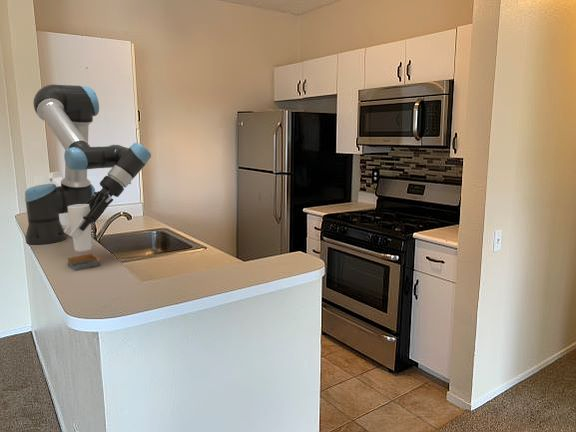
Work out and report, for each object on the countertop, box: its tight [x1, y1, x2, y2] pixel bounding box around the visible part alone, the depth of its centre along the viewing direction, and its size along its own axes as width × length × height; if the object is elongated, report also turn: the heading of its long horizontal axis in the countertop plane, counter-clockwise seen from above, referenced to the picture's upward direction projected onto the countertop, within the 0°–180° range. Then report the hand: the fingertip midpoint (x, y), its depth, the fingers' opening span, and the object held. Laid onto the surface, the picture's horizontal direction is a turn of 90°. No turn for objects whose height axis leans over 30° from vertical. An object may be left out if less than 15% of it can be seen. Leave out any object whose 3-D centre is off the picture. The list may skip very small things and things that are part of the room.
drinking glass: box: [68, 204, 93, 253], centre depth 152 cm, size 7×7×15 cm
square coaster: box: [66, 253, 101, 271], centre depth 154 cm, size 8×8×2 cm
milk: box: [44, 171, 70, 226], centre depth 230 cm, size 12×12×26 cm
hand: (70, 235), depth 150 cm, fingers closed on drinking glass, 7 cm apart
